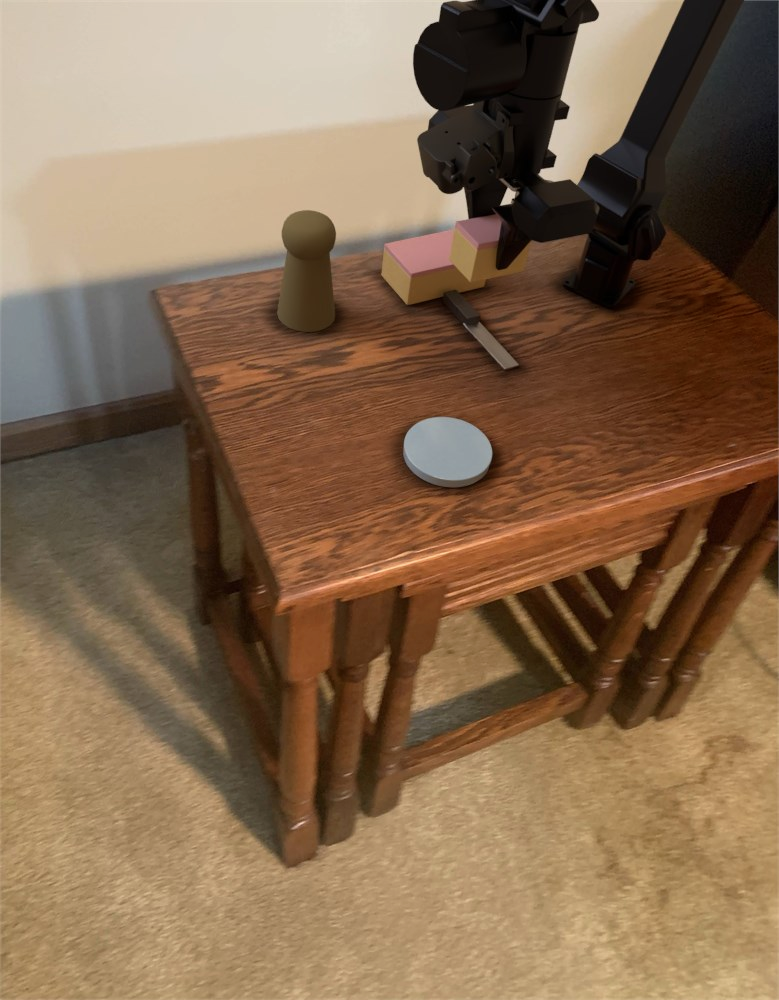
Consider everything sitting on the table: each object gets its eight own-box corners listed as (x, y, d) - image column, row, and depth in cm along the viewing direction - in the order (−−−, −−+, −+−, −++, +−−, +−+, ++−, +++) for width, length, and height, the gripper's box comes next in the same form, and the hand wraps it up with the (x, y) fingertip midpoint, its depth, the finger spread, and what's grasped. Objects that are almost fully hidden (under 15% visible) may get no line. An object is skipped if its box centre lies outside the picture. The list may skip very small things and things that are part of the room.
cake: (380, 275, 93) (384, 243, 90) (456, 258, 97) (462, 227, 94) (407, 305, 90) (411, 273, 87) (484, 286, 94) (491, 255, 91)
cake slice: (448, 259, 79) (455, 221, 76) (501, 249, 81) (510, 211, 78) (470, 283, 77) (478, 244, 74) (523, 271, 79) (533, 233, 76)
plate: (434, 412, 79) (435, 404, 79) (506, 452, 77) (508, 444, 76) (385, 458, 75) (386, 450, 74) (460, 502, 72) (462, 494, 71)
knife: (455, 298, 92) (456, 288, 91) (518, 367, 85) (521, 357, 84) (441, 301, 91) (442, 292, 90) (504, 371, 84) (506, 361, 84)
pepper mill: (269, 301, 88) (268, 205, 80) (323, 293, 90) (328, 198, 82) (288, 336, 85) (289, 239, 76) (343, 326, 87) (350, 230, 78)
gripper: (384, 45, 69) (367, 218, 81) (506, 150, 59) (466, 331, 70) (497, 36, 73) (466, 201, 85) (629, 132, 63) (572, 306, 74)
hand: (488, 256), depth 78 cm, fingers closed on cake slice, 4 cm apart
